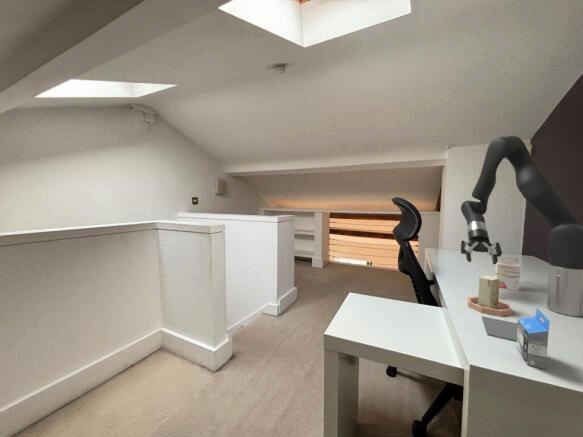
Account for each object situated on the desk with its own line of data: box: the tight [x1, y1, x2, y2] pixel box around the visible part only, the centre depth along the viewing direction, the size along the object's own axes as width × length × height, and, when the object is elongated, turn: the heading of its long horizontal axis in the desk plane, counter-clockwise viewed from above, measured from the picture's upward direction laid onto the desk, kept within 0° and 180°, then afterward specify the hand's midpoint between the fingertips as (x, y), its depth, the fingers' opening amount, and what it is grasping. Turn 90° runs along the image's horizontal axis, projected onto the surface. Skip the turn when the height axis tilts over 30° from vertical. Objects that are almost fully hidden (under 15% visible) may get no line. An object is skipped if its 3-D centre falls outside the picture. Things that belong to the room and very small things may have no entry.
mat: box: [481, 315, 518, 343], centre depth 77 cm, size 12×14×1 cm
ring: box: [466, 296, 513, 317], centre depth 94 cm, size 13×13×2 cm
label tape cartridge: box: [516, 308, 551, 370], centre depth 63 cm, size 9×4×12 cm, turn 150°
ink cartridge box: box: [494, 256, 521, 291], centre depth 117 cm, size 9×5×15 cm, turn 58°
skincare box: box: [477, 275, 500, 310], centre depth 93 cm, size 6×4×12 cm
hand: (482, 262), depth 104 cm, fingers open, 8 cm apart
